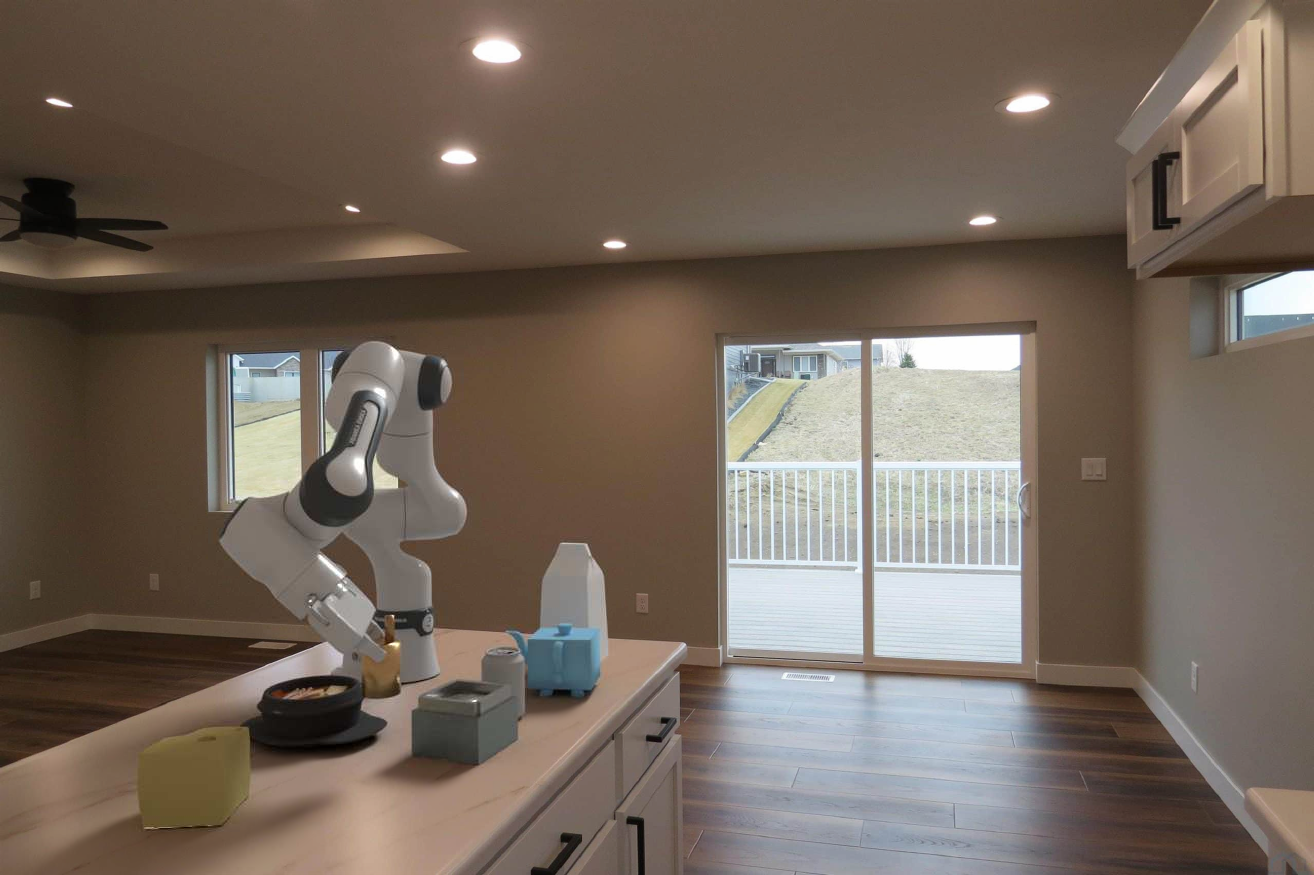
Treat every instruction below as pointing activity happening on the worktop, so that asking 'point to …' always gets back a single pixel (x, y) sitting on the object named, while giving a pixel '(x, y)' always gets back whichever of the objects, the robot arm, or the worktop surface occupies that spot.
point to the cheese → (194, 778)
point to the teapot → (561, 658)
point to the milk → (575, 592)
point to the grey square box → (464, 721)
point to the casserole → (313, 713)
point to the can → (506, 671)
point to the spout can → (383, 667)
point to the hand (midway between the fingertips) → (385, 652)
